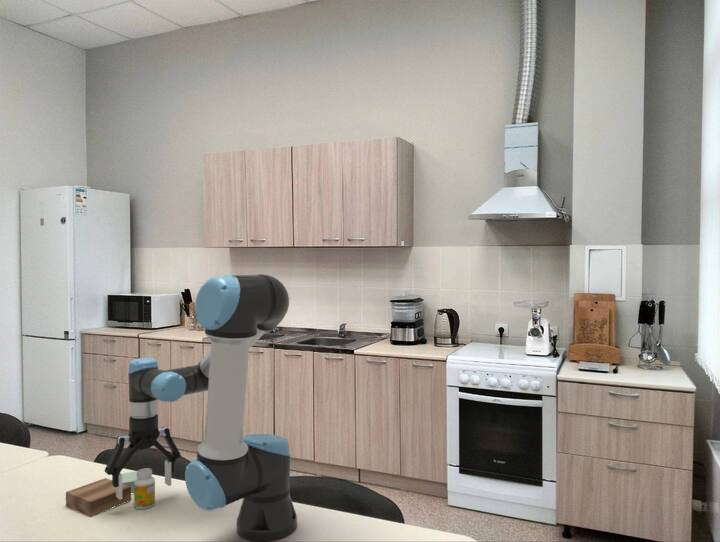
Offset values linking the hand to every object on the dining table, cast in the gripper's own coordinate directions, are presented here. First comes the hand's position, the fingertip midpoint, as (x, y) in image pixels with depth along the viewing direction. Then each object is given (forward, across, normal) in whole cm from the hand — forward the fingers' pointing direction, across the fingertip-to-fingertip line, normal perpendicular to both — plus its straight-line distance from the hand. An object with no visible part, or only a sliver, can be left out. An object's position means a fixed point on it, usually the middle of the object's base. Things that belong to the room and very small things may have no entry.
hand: (144, 490), depth 157 cm
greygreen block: (+4, -2, -14) cm, 15 cm away
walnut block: (+4, +9, -10) cm, 14 cm away
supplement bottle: (+4, 0, 0) cm, 4 cm away
